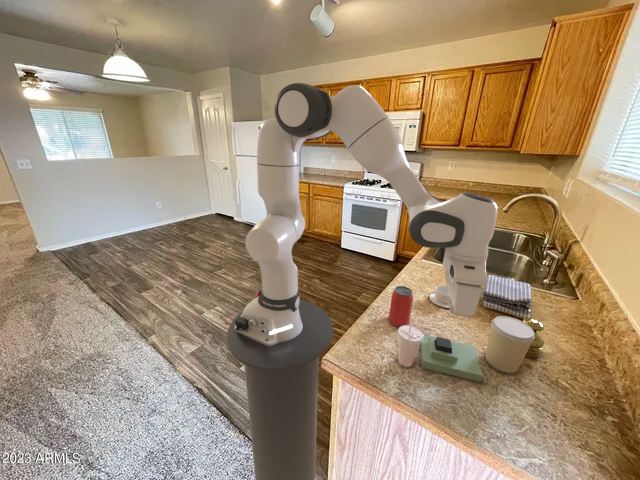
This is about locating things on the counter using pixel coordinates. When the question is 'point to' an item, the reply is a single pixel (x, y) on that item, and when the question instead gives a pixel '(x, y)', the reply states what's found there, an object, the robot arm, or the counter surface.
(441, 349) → the key
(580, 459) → the counter surface
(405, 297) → the beer can
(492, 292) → the towel
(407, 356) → the smoothie
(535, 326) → the gold stacked stones ornament
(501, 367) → the coffee cup
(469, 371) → the green flat stepped block
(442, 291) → the teacup
